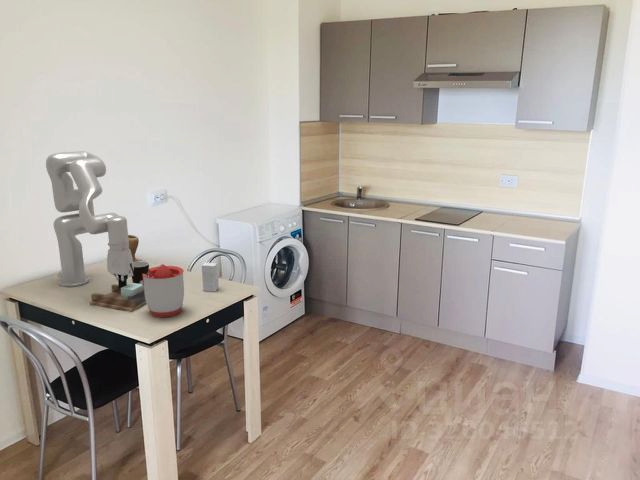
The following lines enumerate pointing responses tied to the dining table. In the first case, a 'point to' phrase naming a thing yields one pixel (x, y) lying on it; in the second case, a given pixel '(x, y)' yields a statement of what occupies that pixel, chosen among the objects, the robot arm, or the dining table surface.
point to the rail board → (119, 300)
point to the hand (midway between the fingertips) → (123, 288)
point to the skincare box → (210, 276)
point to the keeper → (130, 289)
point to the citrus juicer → (164, 290)
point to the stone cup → (133, 246)
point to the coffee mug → (140, 271)
